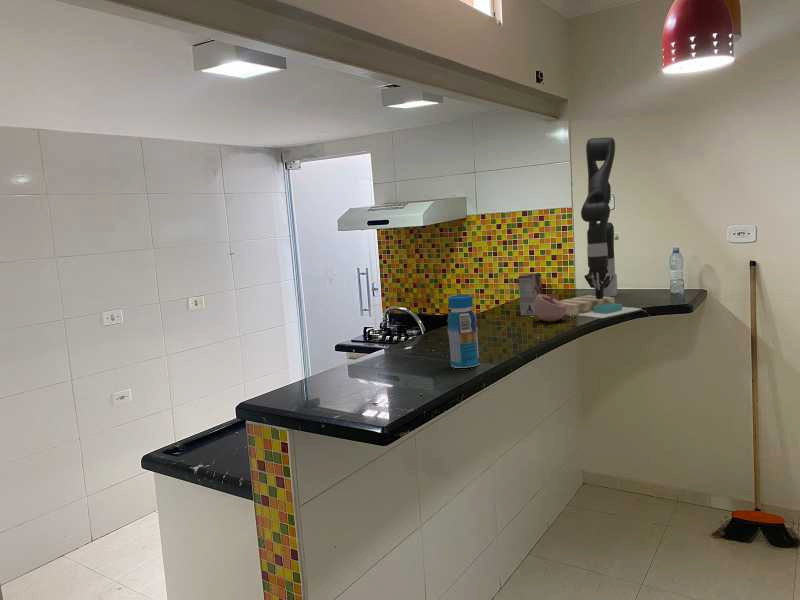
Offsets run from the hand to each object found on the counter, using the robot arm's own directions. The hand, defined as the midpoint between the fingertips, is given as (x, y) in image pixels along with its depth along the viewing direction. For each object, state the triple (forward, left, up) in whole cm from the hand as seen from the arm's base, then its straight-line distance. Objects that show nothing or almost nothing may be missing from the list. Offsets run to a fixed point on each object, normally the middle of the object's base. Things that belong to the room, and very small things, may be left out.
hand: (599, 298), depth 239 cm
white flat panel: (0, +5, -5) cm, 7 cm away
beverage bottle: (+87, +29, -5) cm, 92 cm away
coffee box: (+17, -20, -5) cm, 27 cm away
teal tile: (0, +4, -3) cm, 5 cm away
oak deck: (0, -9, -5) cm, 11 cm away
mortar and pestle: (+25, -1, -5) cm, 26 cm away
